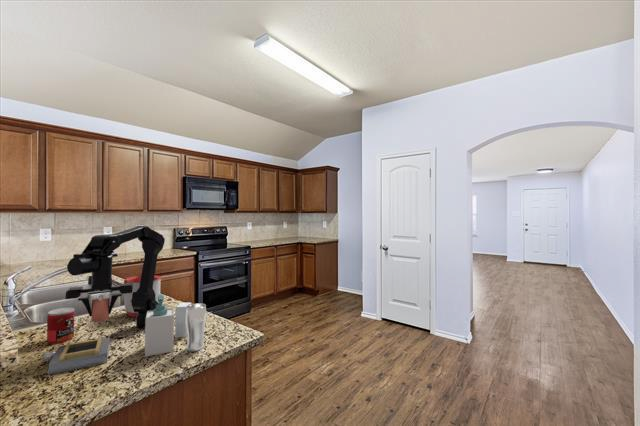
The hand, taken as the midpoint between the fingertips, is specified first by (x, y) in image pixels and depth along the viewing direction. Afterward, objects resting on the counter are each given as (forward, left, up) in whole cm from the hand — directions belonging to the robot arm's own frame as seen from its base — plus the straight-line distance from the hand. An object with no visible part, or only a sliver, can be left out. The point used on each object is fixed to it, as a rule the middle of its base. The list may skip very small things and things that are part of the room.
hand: (100, 315), depth 103 cm
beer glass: (-29, +16, -12) cm, 35 cm away
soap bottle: (-18, +11, -12) cm, 24 cm away
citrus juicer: (-13, -36, -12) cm, 40 cm away
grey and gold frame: (+6, +6, -12) cm, 14 cm away
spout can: (0, 0, -2) cm, 2 cm away
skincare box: (-27, +1, -12) cm, 30 cm away
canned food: (+13, -17, -12) cm, 25 cm away
